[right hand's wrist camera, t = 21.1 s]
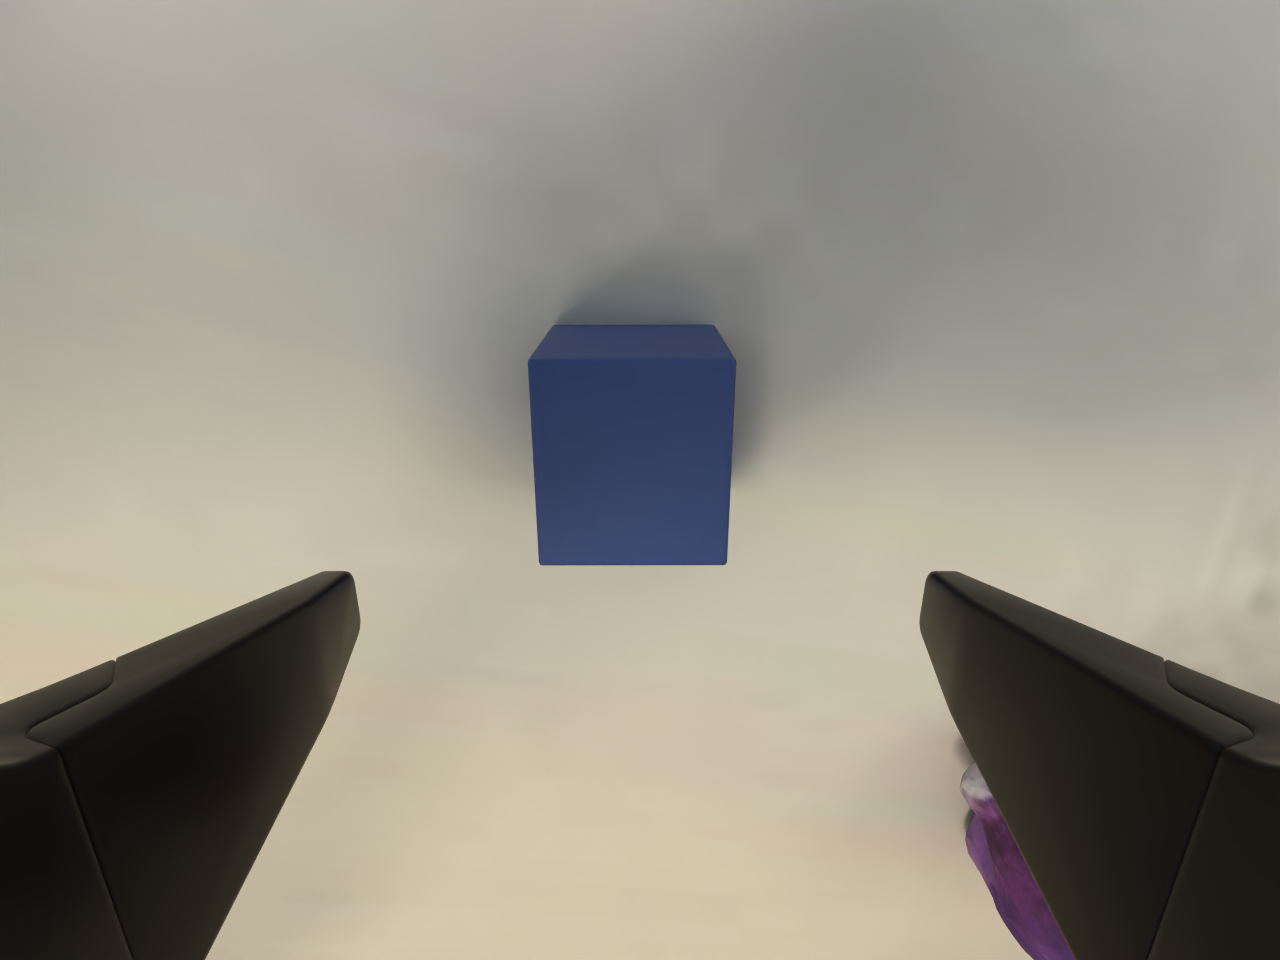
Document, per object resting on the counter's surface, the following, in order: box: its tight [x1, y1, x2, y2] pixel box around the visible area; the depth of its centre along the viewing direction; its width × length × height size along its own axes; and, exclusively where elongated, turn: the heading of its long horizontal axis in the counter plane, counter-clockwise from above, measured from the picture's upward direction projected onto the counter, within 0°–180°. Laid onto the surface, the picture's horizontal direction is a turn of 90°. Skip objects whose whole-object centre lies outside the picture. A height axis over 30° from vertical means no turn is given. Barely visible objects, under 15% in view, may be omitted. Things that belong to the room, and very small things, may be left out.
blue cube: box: [528, 325, 736, 565], centre depth 19 cm, size 5×5×5 cm
